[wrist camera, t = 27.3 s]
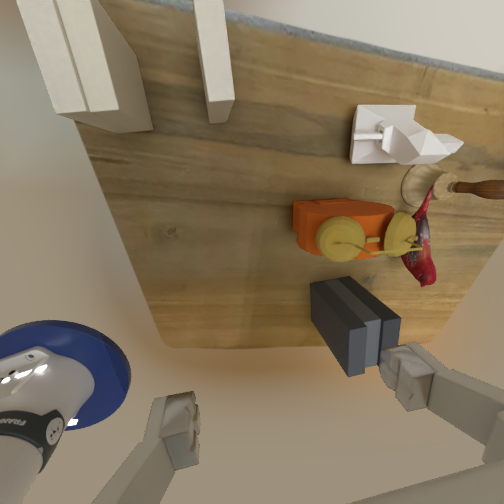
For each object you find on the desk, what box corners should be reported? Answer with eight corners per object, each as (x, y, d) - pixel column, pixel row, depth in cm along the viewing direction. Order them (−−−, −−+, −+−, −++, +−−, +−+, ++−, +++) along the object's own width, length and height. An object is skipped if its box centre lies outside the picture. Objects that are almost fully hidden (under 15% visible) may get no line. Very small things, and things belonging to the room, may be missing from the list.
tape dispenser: (332, 109, 39) (391, 82, 26) (411, 109, 41) (503, 84, 28) (328, 165, 42) (379, 166, 29) (402, 163, 44) (481, 163, 31)
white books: (116, 133, 35) (55, 114, 21) (96, 58, 32) (7, -22, 18) (153, 130, 36) (117, 108, 22) (136, 56, 33) (81, -25, 19)
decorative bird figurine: (385, 270, 51) (423, 294, 41) (397, 182, 45) (446, 187, 35) (397, 269, 51) (439, 292, 42) (411, 181, 45) (464, 186, 36)
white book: (209, 124, 37) (208, 102, 24) (198, 51, 34) (189, -21, 21) (226, 122, 37) (235, 99, 24) (216, 50, 34) (220, -22, 21)
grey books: (311, 320, 52) (348, 377, 38) (310, 283, 49) (349, 330, 35) (348, 313, 53) (397, 366, 39) (349, 276, 50) (403, 319, 36)
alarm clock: (284, 234, 45) (336, 284, 26) (284, 200, 42) (341, 229, 24) (351, 229, 46) (446, 272, 28) (355, 196, 44) (459, 219, 26)
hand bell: (393, 182, 45) (484, 191, 30) (430, 150, 44) (544, 142, 29) (413, 215, 47) (504, 238, 33) (448, 185, 46) (559, 195, 32)
